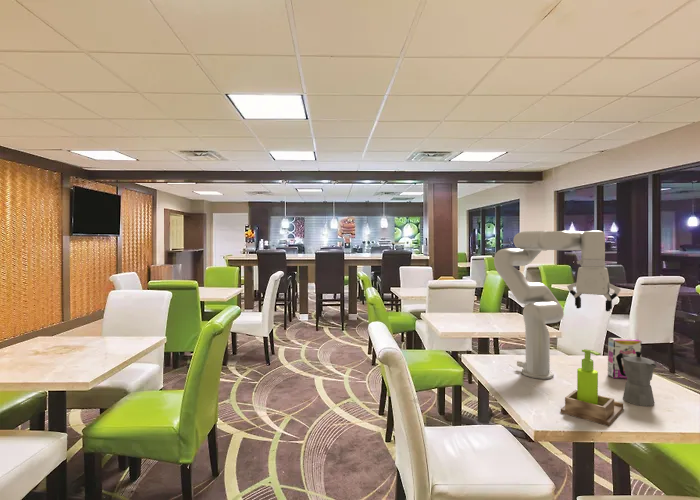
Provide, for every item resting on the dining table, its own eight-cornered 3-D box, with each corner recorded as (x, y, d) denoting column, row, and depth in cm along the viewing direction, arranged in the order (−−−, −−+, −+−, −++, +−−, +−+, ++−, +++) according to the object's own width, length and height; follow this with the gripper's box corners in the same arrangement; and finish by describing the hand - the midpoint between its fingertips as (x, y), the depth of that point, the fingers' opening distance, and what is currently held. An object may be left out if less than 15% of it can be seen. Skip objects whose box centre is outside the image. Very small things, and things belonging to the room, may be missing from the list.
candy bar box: (613, 378, 165) (613, 340, 165) (607, 375, 170) (607, 337, 170) (642, 379, 164) (642, 340, 164) (634, 375, 169) (634, 337, 169)
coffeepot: (667, 407, 136) (667, 355, 136) (645, 410, 134) (645, 357, 134) (626, 391, 151) (626, 344, 151) (606, 393, 149) (606, 346, 149)
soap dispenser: (593, 415, 126) (594, 353, 126) (573, 408, 133) (573, 348, 133) (604, 412, 129) (605, 351, 129) (584, 404, 135) (584, 347, 135)
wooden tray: (560, 412, 132) (560, 397, 132) (578, 398, 144) (578, 384, 144) (609, 426, 122) (609, 409, 122) (623, 409, 134) (623, 394, 134)
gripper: (564, 263, 150) (564, 308, 151) (617, 264, 138) (617, 313, 138) (571, 262, 156) (571, 306, 156) (623, 264, 143) (623, 311, 143)
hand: (592, 309), depth 147 cm, fingers open, 9 cm apart
